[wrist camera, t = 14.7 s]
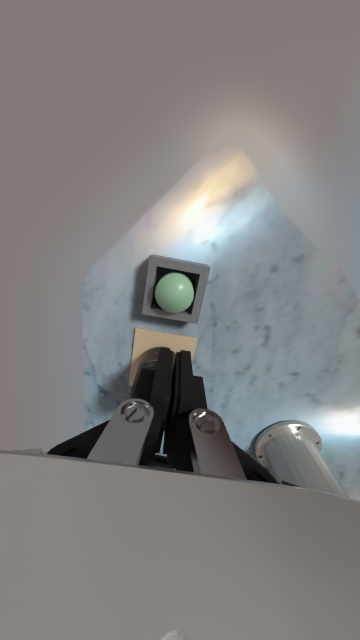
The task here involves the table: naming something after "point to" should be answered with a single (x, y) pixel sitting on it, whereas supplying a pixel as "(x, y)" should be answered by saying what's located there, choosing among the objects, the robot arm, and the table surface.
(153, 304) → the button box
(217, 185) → the table surface
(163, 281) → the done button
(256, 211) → the table surface
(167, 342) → the beige square board
